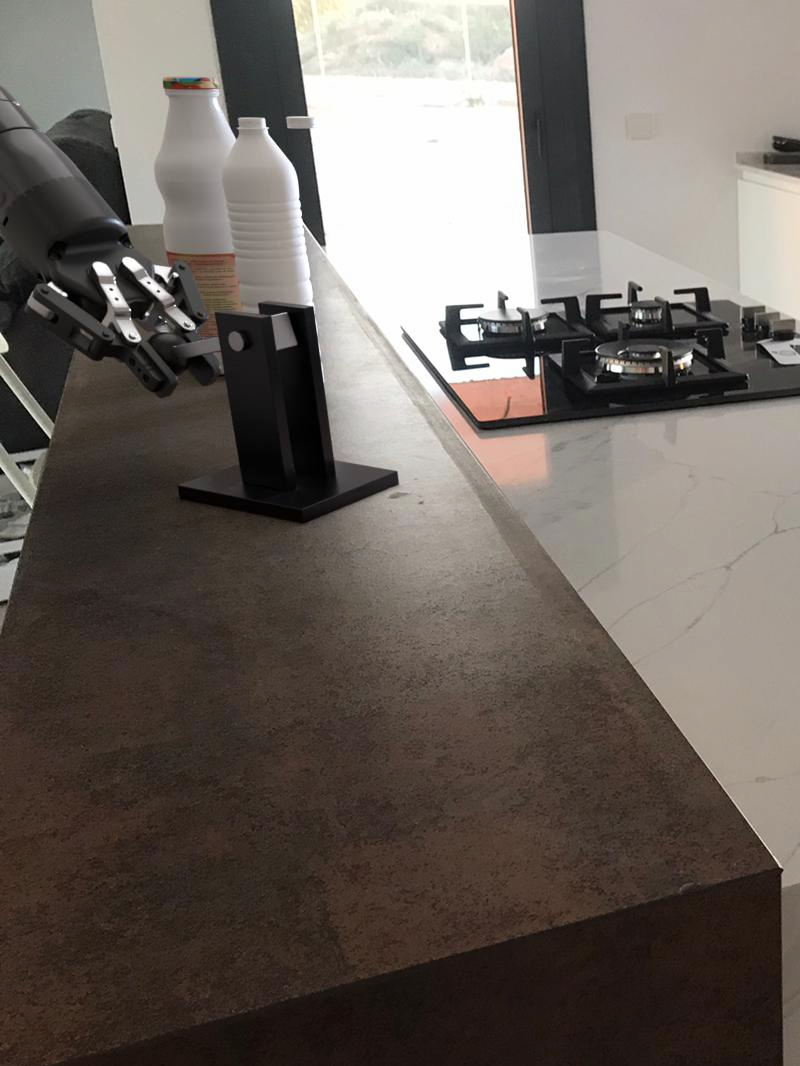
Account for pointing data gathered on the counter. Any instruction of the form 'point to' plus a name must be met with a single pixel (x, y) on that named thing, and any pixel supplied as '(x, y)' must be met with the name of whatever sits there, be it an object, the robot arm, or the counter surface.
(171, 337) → the lever with ball knob
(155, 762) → the counter surface
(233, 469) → the tap bracket
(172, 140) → the fruit juice
